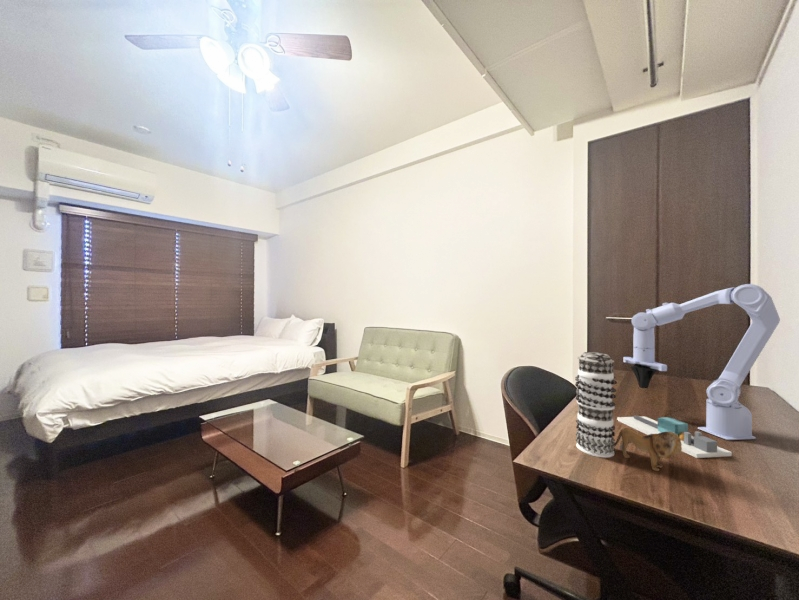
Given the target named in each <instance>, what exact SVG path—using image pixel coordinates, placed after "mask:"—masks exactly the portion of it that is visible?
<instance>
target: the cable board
mask: <svg viewBox="0 0 799 600" xmlns="http://www.w3.org/2000/svg"><path fill="white" fill-rule="evenodd" d="M617 420H618V423H622V424H624V425H625V426H628V427H630V428H631V429H633V430H635V431H636V430H637V431H639V432H641V433H643V434H645V435H646V436H648V435H650V434H658V433H662V432H660V431H658V420H654V419H652V418H650V417H648V416H646V415H645V416H643V415H642V416H639V415H637V414H634V415H633V416H621V417H620V416H617V417H616V421H617ZM678 437H679V438H681V444H682V446H681V447H682V450H681V452H682V453H685V454H687V455H690V456H692V457H694V458H696V459H703V458H704V459H705V458H722V457H732V456H733V455H732V454H733V452H732V451H730V450H727V449H726V448H725V449H724V448H722V447H720V446H718V440H717V441H716V440H714V439H712V438H710V437H707V436H705V435H703V432H700V431H697V430H696V431H694V436H693V435H692V433H691V432H689V431H688V432H682V433H678Z"/></svg>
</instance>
